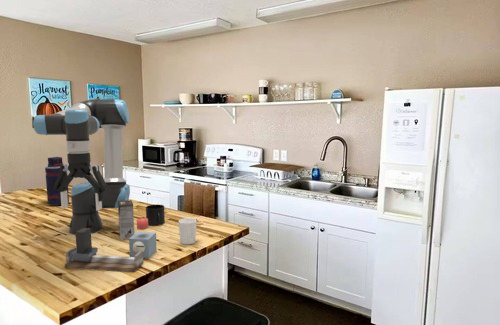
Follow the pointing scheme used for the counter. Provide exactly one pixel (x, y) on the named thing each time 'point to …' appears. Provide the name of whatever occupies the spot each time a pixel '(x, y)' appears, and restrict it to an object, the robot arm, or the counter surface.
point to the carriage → (83, 246)
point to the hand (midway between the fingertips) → (81, 209)
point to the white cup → (187, 230)
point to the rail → (106, 262)
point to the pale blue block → (143, 244)
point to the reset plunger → (142, 223)
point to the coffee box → (126, 219)
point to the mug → (155, 215)
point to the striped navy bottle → (54, 180)
